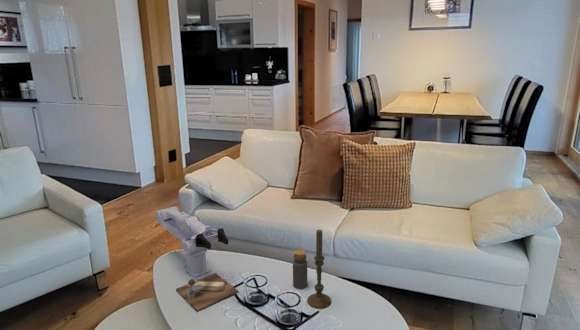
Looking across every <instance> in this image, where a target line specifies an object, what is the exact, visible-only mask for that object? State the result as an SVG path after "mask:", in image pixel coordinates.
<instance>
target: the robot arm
mask: <svg viewBox="0 0 580 330" xmlns="http://www.w3.org/2000/svg"><path fill="white" fill-rule="evenodd" d="M154 215H155V220H156V222H157V224H158V225H160V226H161V227H162V228H164V229H165V230H167V232H168V233H170V234H171V235H172V236H174V237H175V238H176V239H178V240H179V241H180V242H181V248H182V250H183V251H184V253H185V263H186V267H184V270H185V271H186V272H187V273H188V274H190V275H191V276H192V277H193V278H197V277H199V276H201V275H204V274H207V273H209V272H212V271H211V269H210V268H209V267H208V265H207V254H206V253H207V252H208V250H211V249H212V243H211V242H212V241H214V240H216V239H217V242H218V243H223V244H224V245H228V244H229V239H228V237H227V235H226V230H225V229H224V228H218V229H217V228H216V229H215V228H211V226H210V225H206V224H204V223H203V222H202V221H201V220H200V217H199V216H198V215H197V214H194V215H190V214H189V213H186V211H181V212H180V210H179V208H178V207H177V206H175V205H173V206H171V207H167V208H164V209H160V210H159V209H158V210H156V211H155V214H154Z"/></svg>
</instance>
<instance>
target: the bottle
mask: <svg viewBox="0 0 580 330" xmlns="http://www.w3.org/2000/svg"><path fill="white" fill-rule="evenodd" d="M293 252H294V253H293V261H292V286H293V287H294V288H295V289H297V290H303V289H306V288H307V287H308V261H307V254H306V253H307V252H306V250H304V249H302V248H301V249H300V248H299V249H295V250H294V251H293Z"/></svg>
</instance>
